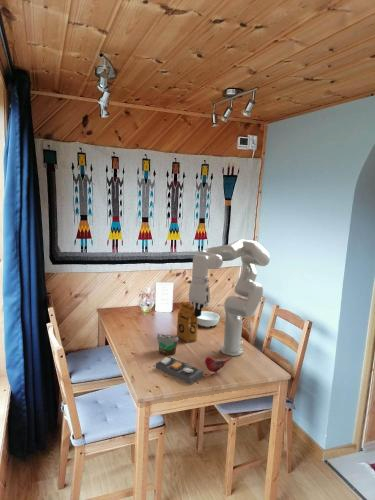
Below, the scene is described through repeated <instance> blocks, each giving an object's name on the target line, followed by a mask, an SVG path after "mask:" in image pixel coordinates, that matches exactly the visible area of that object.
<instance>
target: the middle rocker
mask: <svg viewBox="0 0 375 500" xmlns="http://www.w3.org/2000/svg"><path fill="white" fill-rule="evenodd" d="M181 366H182V364H181V363H178V362H176V363H174V364H173V365H172V368H175V369H178V368H179V367H181Z"/></svg>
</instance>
